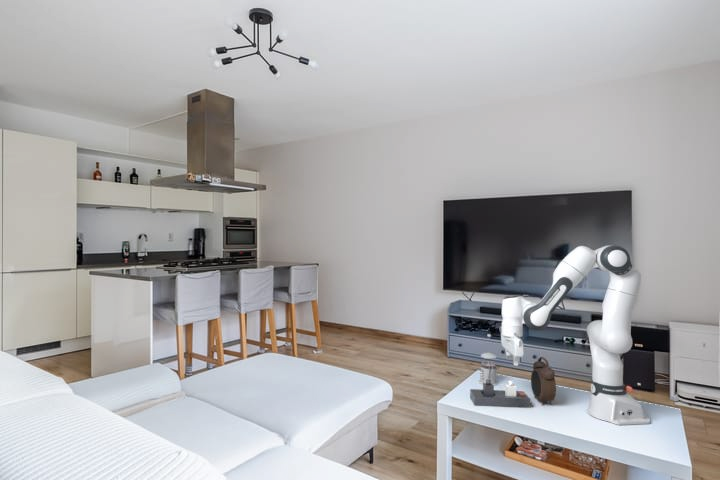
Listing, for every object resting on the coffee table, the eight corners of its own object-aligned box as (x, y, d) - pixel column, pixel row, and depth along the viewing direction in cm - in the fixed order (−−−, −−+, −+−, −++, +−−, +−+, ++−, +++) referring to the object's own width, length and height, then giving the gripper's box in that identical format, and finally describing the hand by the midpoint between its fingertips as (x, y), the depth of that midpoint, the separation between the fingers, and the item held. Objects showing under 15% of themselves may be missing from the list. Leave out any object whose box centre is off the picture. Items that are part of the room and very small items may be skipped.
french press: (496, 380, 214) (497, 332, 214) (500, 388, 203) (501, 337, 203) (476, 379, 216) (477, 331, 216) (480, 386, 204) (481, 336, 204)
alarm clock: (528, 395, 193) (528, 353, 193) (543, 396, 193) (544, 353, 193) (540, 408, 179) (541, 362, 179) (557, 408, 178) (558, 363, 178)
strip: (523, 400, 188) (523, 390, 188) (530, 407, 179) (530, 397, 179) (470, 397, 189) (470, 387, 189) (474, 405, 180) (474, 395, 180)
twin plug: (491, 401, 186) (492, 379, 186) (493, 403, 183) (493, 381, 183) (482, 400, 186) (483, 378, 186) (484, 403, 183) (484, 381, 183)
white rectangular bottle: (513, 402, 185) (514, 380, 185) (516, 404, 182) (516, 382, 182) (504, 401, 185) (505, 379, 185) (507, 404, 182) (507, 382, 182)
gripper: (527, 336, 173) (527, 369, 173) (512, 326, 194) (512, 356, 193) (512, 336, 173) (512, 369, 173) (498, 326, 194) (498, 355, 194)
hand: (512, 362), depth 184 cm, fingers open, 8 cm apart
